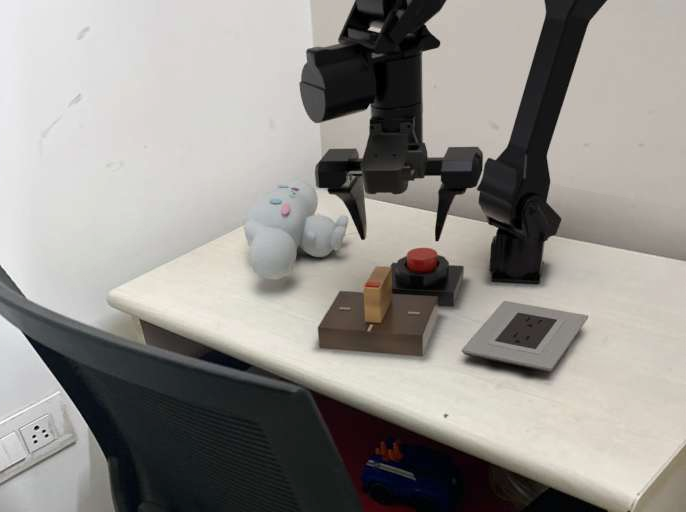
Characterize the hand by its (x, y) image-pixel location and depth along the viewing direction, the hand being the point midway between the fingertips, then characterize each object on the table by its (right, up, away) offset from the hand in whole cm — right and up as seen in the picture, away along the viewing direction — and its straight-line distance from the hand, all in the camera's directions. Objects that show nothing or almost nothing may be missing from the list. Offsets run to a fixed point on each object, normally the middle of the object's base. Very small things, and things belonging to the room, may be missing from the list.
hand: (400, 239), depth 95 cm
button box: (+4, -4, +11) cm, 12 cm away
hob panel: (-2, -11, +3) cm, 12 cm away
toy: (-13, +5, +24) cm, 28 cm away
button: (+4, -1, +8) cm, 9 cm away
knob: (-3, -9, +1) cm, 9 cm away
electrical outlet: (+15, -14, -3) cm, 20 cm away
